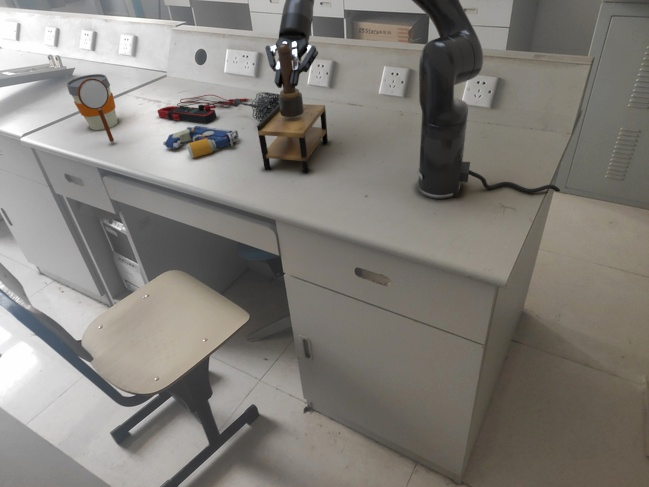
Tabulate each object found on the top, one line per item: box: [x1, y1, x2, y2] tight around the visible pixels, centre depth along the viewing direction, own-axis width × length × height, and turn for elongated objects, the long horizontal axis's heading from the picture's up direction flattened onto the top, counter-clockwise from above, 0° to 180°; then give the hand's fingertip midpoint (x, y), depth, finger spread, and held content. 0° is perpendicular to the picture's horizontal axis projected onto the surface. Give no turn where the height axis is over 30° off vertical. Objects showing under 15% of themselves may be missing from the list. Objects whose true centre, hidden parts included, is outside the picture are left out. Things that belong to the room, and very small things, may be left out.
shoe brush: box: [276, 43, 304, 117], centre depth 112 cm, size 6×6×17 cm
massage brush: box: [233, 91, 280, 123], centre depth 143 cm, size 9×22×9 cm, turn 56°
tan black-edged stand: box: [256, 103, 329, 174], centre depth 121 cm, size 12×18×12 cm, turn 162°
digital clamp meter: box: [157, 94, 253, 125], centre depth 157 cm, size 23×4×25 cm
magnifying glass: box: [78, 78, 115, 145], centre depth 135 cm, size 9×2×20 cm, turn 139°
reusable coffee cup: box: [66, 73, 118, 131], centre depth 150 cm, size 13×13×15 cm
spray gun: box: [162, 125, 240, 159], centre depth 133 cm, size 21×4×15 cm
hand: (285, 86), depth 111 cm, fingers closed on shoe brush, 3 cm apart
